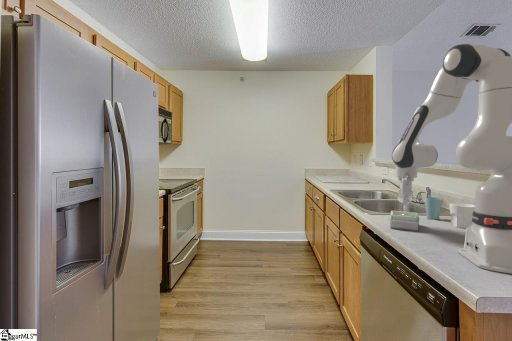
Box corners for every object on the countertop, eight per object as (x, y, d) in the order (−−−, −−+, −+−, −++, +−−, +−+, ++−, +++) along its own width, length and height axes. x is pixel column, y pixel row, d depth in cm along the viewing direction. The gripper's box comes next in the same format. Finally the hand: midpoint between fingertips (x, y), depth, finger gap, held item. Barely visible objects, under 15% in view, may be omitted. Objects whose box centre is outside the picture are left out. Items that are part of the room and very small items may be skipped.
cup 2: (474, 230, 132) (475, 207, 132) (447, 226, 138) (448, 205, 138) (475, 225, 140) (476, 204, 140) (449, 222, 146) (450, 202, 146)
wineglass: (412, 217, 135) (414, 191, 134) (398, 217, 136) (400, 190, 135) (408, 215, 141) (410, 189, 140) (395, 214, 142) (396, 189, 141)
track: (418, 231, 129) (419, 223, 128) (390, 228, 133) (391, 220, 133) (414, 220, 150) (414, 213, 149) (390, 218, 154) (390, 211, 154)
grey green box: (418, 228, 131) (419, 217, 130) (390, 225, 135) (391, 215, 135) (416, 222, 142) (416, 212, 141) (390, 220, 146) (390, 210, 146)
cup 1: (423, 218, 154) (425, 198, 153) (424, 216, 160) (425, 196, 160) (441, 220, 150) (442, 199, 149) (440, 218, 157) (442, 198, 156)
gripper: (416, 175, 126) (414, 207, 127) (412, 172, 145) (410, 200, 146) (399, 174, 129) (397, 206, 130) (397, 171, 147) (396, 199, 148)
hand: (404, 203), depth 138 cm, fingers closed on wineglass, 5 cm apart
